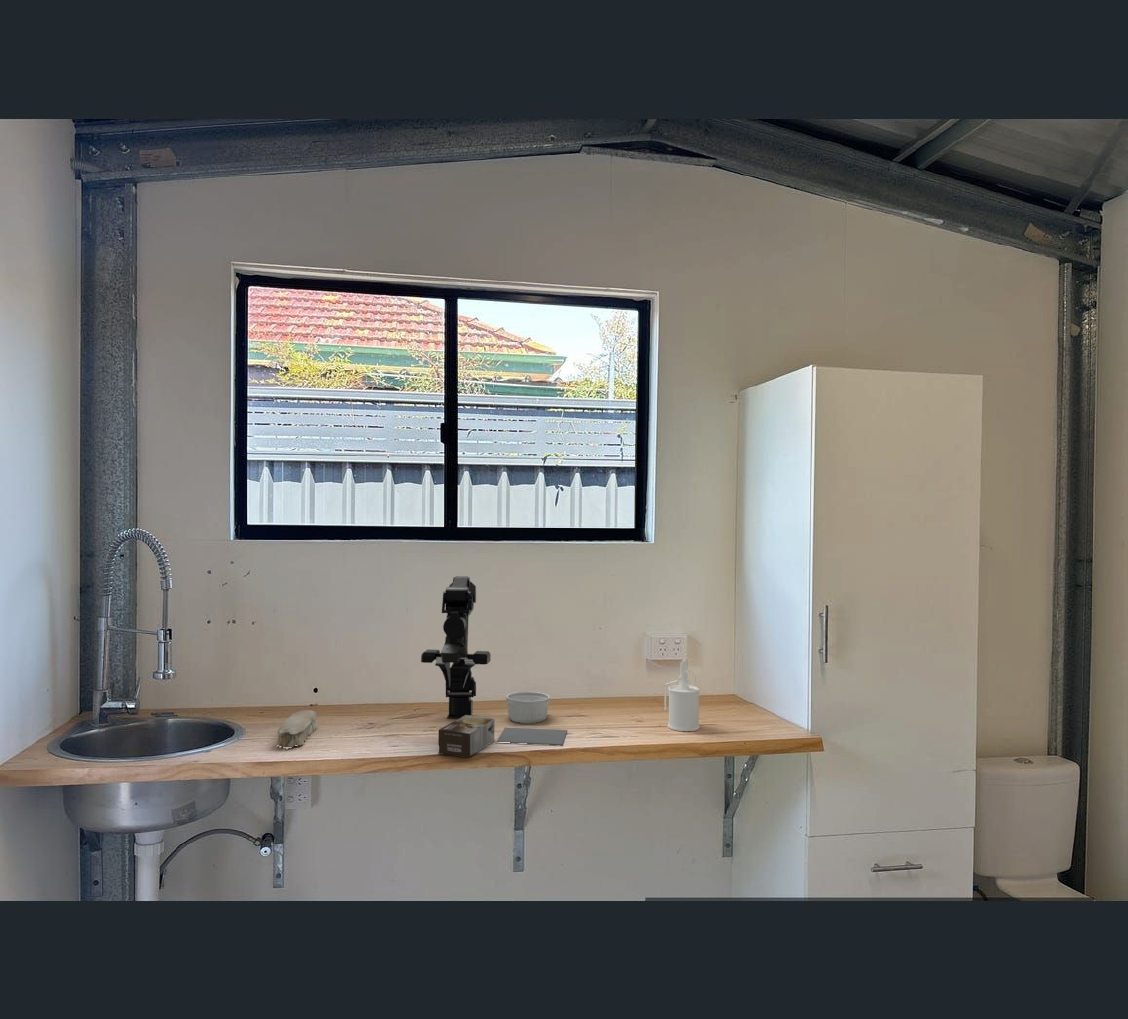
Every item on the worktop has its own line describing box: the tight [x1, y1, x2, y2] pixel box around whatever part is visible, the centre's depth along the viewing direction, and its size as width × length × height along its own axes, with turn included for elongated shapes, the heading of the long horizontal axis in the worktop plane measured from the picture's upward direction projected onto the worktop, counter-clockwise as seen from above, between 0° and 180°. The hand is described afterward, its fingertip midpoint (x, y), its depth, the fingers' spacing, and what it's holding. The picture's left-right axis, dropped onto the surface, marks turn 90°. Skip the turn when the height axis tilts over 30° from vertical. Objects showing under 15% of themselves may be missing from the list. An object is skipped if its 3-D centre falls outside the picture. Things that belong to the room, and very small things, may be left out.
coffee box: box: [437, 715, 496, 759], centre depth 206 cm, size 9×6×16 cm
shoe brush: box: [276, 709, 319, 748], centre depth 214 cm, size 24×8×5 cm, turn 6°
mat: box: [495, 727, 568, 746], centre depth 216 cm, size 18×14×1 cm
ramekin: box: [505, 691, 551, 724], centre depth 235 cm, size 13×13×7 cm
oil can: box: [663, 658, 701, 733], centre depth 228 cm, size 10×9×20 cm
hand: (455, 687), depth 218 cm, fingers open, 4 cm apart
